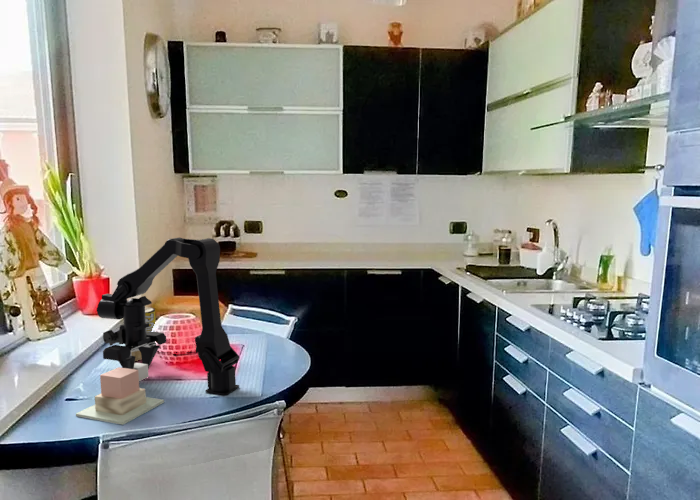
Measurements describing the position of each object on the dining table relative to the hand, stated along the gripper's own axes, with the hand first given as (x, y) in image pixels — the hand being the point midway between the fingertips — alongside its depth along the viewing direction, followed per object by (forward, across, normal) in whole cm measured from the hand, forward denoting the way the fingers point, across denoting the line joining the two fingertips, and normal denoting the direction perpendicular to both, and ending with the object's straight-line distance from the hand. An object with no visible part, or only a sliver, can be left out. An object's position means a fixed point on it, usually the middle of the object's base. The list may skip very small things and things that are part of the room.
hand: (137, 375), depth 156 cm
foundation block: (0, +18, +11) cm, 21 cm away
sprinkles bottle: (+1, -13, -13) cm, 18 cm away
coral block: (-3, +18, +11) cm, 21 cm away
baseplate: (+1, +18, +11) cm, 21 cm away
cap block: (+1, 0, 0) cm, 1 cm away
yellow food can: (+1, -27, -22) cm, 35 cm away
